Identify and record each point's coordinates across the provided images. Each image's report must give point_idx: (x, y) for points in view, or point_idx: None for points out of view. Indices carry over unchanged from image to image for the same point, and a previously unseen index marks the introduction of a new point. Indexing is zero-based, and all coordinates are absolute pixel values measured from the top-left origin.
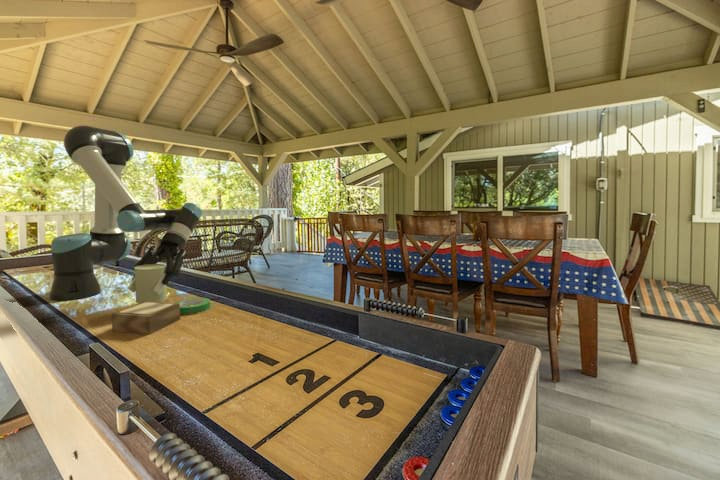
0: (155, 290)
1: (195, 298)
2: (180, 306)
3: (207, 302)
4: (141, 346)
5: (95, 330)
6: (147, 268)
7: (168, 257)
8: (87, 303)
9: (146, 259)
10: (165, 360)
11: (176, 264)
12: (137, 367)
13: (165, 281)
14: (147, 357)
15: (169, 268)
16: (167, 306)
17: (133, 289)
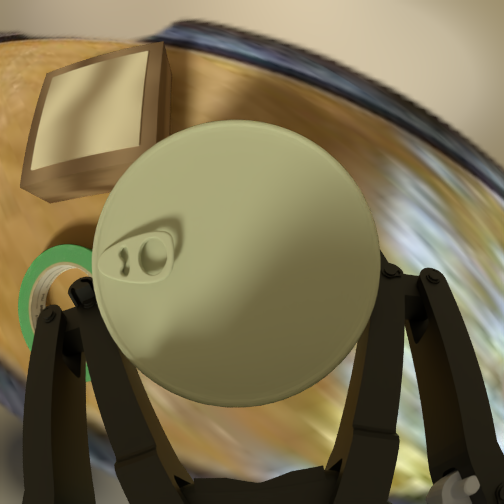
0: None
1: None
2: (71, 255)
3: (22, 323)
4: (54, 64)
5: (224, 67)
6: (192, 182)
7: (130, 458)
8: (486, 253)
9: (442, 393)
10: (5, 64)
11: (32, 372)
12: (30, 38)
13: None
14: (29, 54)
15: (81, 333)
16: (35, 143)
17: None
